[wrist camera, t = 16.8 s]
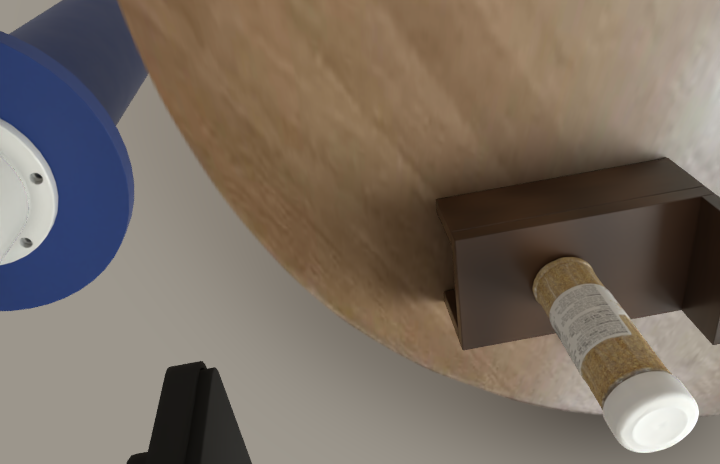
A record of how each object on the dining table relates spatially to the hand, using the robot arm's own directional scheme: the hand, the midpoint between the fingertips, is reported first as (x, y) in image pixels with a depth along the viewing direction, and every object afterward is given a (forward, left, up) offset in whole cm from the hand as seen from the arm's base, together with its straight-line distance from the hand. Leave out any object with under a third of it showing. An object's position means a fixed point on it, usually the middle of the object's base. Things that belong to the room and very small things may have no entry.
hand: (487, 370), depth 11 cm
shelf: (+14, -20, -32) cm, 40 cm away
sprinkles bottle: (+12, -20, -26) cm, 35 cm away
